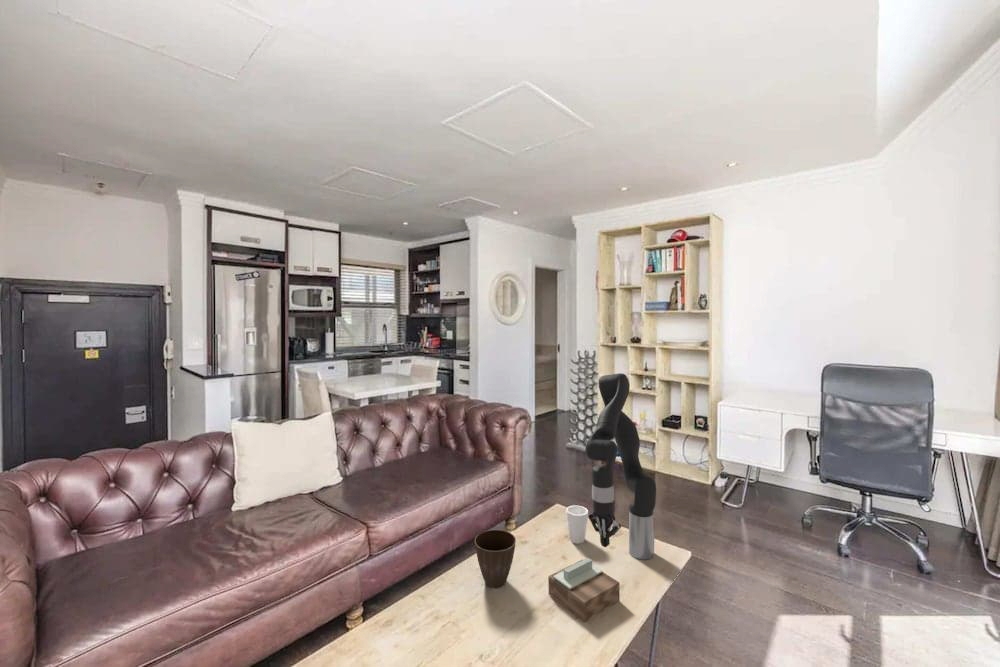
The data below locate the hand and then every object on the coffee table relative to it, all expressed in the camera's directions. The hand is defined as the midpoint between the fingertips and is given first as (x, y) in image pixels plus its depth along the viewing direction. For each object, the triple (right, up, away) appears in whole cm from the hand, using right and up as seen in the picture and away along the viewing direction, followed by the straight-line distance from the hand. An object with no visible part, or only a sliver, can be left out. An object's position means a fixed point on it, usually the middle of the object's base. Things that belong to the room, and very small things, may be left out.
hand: (605, 545), depth 149 cm
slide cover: (-9, -11, +2) cm, 14 cm away
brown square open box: (-7, -18, 0) cm, 19 cm away
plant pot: (-38, -18, +9) cm, 43 cm away
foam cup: (-3, -16, +37) cm, 41 cm away
